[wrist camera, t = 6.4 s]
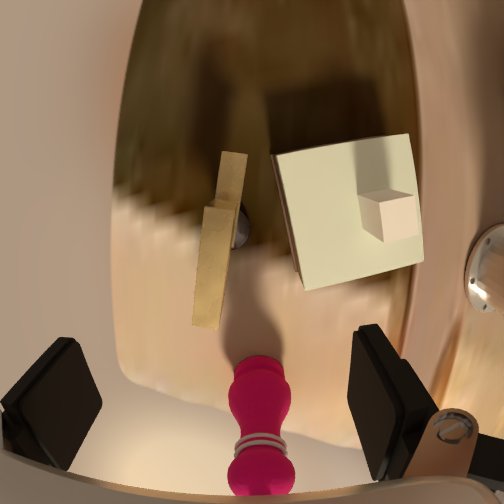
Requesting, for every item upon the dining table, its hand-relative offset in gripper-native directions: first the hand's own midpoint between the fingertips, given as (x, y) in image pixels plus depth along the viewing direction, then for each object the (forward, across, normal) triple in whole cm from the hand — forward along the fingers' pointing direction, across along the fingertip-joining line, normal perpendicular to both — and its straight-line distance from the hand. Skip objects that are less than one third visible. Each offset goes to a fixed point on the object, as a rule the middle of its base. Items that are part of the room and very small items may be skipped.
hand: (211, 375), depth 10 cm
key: (+23, +1, -2) cm, 23 cm away
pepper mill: (+24, 0, +19) cm, 31 cm away
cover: (+19, -10, -2) cm, 22 cm away
